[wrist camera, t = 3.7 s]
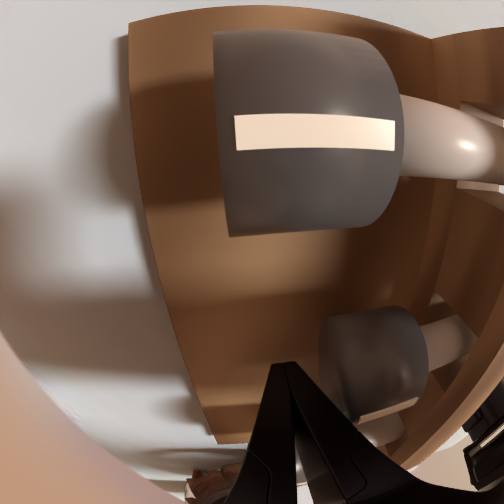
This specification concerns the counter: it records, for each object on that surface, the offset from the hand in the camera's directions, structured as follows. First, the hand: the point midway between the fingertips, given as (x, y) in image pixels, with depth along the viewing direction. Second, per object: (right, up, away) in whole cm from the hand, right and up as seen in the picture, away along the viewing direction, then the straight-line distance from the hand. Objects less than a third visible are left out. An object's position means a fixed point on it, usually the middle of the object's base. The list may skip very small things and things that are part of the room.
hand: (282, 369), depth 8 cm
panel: (+2, +2, +3) cm, 4 cm away
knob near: (+2, +7, -2) cm, 8 cm away
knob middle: (+5, +1, +1) cm, 6 cm away
